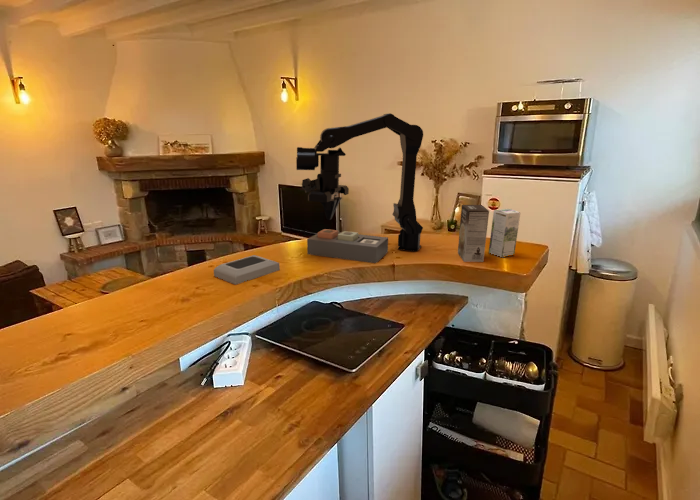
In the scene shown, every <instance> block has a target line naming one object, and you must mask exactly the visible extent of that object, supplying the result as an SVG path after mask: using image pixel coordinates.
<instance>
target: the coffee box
mask: <svg viewBox="0 0 700 500" xmlns="http://www.w3.org/2000/svg"><path fill="white" fill-rule="evenodd" d="M489 215H490V210H489V209H487V208H486V207H485V206H483V205H482V204H462V205H461V212H460V223H459V232H458V234H459V235H458V245H457V254H458V256H459V257H460V258H461V259H462V261H463V263H465V262H469V263H472V262H473V263H477V262H478V263H483V262H484V259H485V253H486V252H485V251H486V241H487V235H488V234H487V233H488V225H489Z"/></svg>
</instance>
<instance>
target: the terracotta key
mask: <svg viewBox="0 0 700 500" xmlns="http://www.w3.org/2000/svg"><path fill="white" fill-rule="evenodd" d="M338 232H339V230H338V229H337V230H335V229H330V228H329V229H326V228H324V229H322V230H320V231H318V232H317V234H318V238H327V239H334V238H336V237H337V236H338Z"/></svg>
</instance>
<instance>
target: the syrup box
mask: <svg viewBox="0 0 700 500" xmlns="http://www.w3.org/2000/svg"><path fill="white" fill-rule="evenodd" d="M520 217H521V212H520V211H518V210H515V209H512V208H503V209H494V210H493V214H492V221H491V230H490V239H489V247H488V254H490V253H491V255H492V254H494V255H493V256H495V255H497V256H496V257H498V256H500V257H499V258H501V257H502V258H505V257H504V256H508V255H513V254H514V255H515V253H516V245H517V239H518V233H519V225H520Z"/></svg>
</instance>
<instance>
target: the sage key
mask: <svg viewBox="0 0 700 500" xmlns="http://www.w3.org/2000/svg"><path fill="white" fill-rule="evenodd" d="M341 232H342V233H340V234H338V240H344V241H353V242H354V241H355V240H357V239H358V234H359V232H358V231H357V232H355V231H347V230H346V231H345V230H343V231H341Z"/></svg>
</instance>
